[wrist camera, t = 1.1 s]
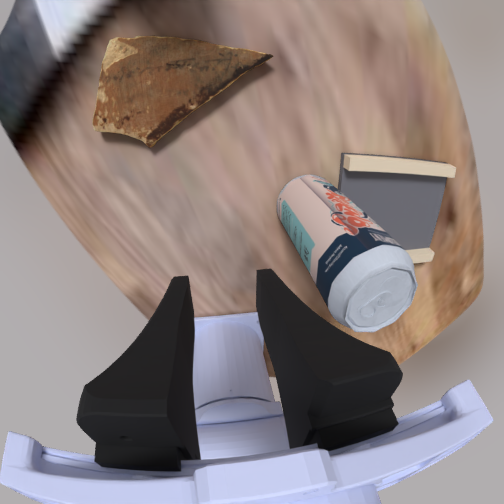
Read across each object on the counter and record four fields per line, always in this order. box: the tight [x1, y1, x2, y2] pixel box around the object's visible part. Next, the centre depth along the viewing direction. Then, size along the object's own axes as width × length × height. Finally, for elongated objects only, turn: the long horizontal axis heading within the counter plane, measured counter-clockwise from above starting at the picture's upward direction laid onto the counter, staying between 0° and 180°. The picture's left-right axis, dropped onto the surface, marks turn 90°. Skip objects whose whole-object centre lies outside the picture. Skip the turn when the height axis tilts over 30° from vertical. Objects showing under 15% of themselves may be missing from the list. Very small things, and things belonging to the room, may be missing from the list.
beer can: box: [277, 175, 418, 332], centre depth 17 cm, size 5×5×12 cm
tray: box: [338, 153, 456, 264], centre depth 24 cm, size 10×12×2 cm
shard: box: [92, 36, 273, 148], centre depth 17 cm, size 11×8×2 cm
